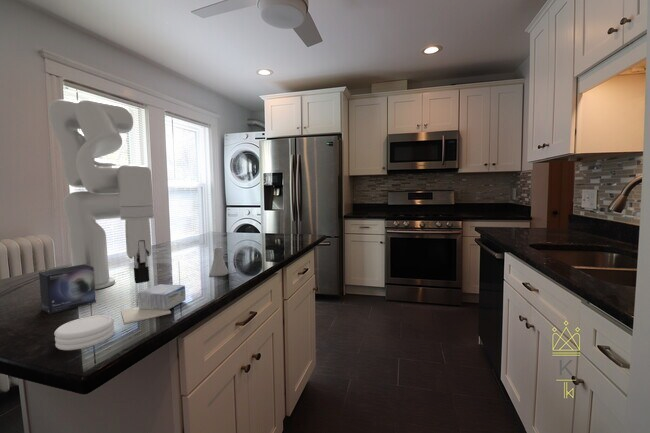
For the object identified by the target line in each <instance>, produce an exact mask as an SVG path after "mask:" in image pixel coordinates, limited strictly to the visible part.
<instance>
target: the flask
mask: <svg viewBox="0 0 650 433" xmlns="http://www.w3.org/2000/svg"><path fill="white" fill-rule="evenodd" d="M222 250H223V247H214V248H213V253H214V256H213V260H212V264H211V268H210V271H209V275H208V276H209V277H223V276H226V275H229V274H230V273H229V269H228V268H227V265H226V262H225V259H224V257H223V253H222Z"/></svg>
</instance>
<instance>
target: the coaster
mask: <svg viewBox="0 0 650 433" xmlns="http://www.w3.org/2000/svg"><path fill="white" fill-rule="evenodd" d="M114 321H115V319H114V318H113V317H112V316H110V315H106V314H105V315H104V314H102V315H101V314H97V315H90V316H89V315H88V316H83V317H82V318H77V319H74V320H70V321H68V322H66V323H63V324H62V325H59V327H58V328H56V330H54V333H53V335H54V336H55V337H54V341H55V344H54V345H55V348H57V349H58V350H59V351H61V350H62V351H76V350H82V349H85V348H86V349H87V348H90V347H93V346H95V345H98V344H101V343H103V342H105V341H107V340H108V339H110V338H112V336H114V334H115V331H116V330H115V323H114Z"/></svg>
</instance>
